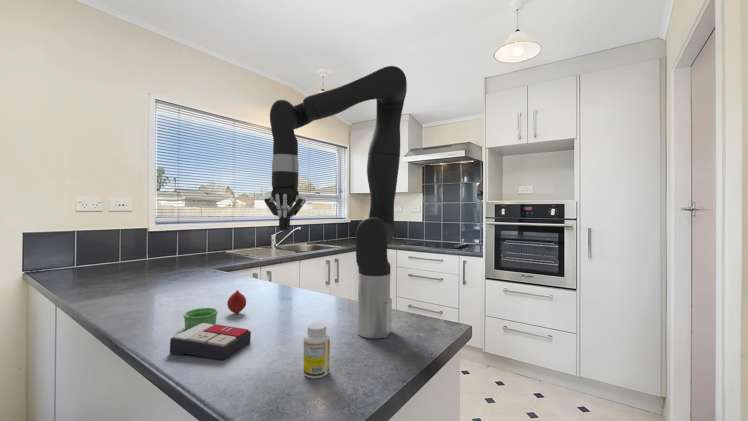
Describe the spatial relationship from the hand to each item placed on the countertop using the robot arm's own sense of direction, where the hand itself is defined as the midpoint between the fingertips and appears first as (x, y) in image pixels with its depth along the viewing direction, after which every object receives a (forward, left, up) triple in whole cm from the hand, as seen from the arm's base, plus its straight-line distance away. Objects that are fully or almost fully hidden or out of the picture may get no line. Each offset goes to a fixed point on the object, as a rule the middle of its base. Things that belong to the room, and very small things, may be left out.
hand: (284, 230), depth 95 cm
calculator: (+2, +16, -28) cm, 32 cm away
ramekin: (+24, +6, -29) cm, 38 cm away
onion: (+22, -7, -29) cm, 37 cm away
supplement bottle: (-21, +20, -29) cm, 41 cm away
